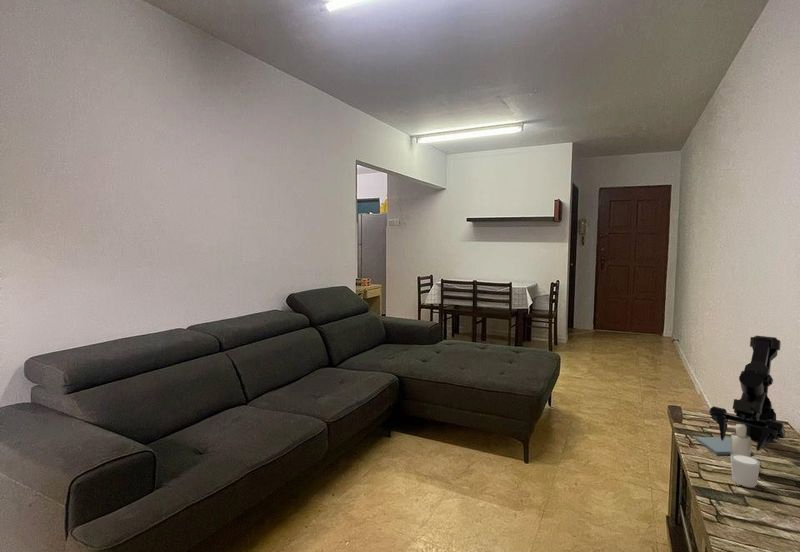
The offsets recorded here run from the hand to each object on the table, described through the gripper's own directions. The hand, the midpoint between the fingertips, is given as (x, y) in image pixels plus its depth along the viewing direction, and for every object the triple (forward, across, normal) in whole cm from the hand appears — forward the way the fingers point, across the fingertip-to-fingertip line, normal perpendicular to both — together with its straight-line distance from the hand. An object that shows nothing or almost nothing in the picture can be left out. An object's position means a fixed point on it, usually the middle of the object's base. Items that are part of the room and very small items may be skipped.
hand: (739, 444), depth 136 cm
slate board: (-3, -7, +12) cm, 14 cm away
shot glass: (+12, +4, -3) cm, 13 cm away
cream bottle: (+4, 0, +6) cm, 7 cm away
